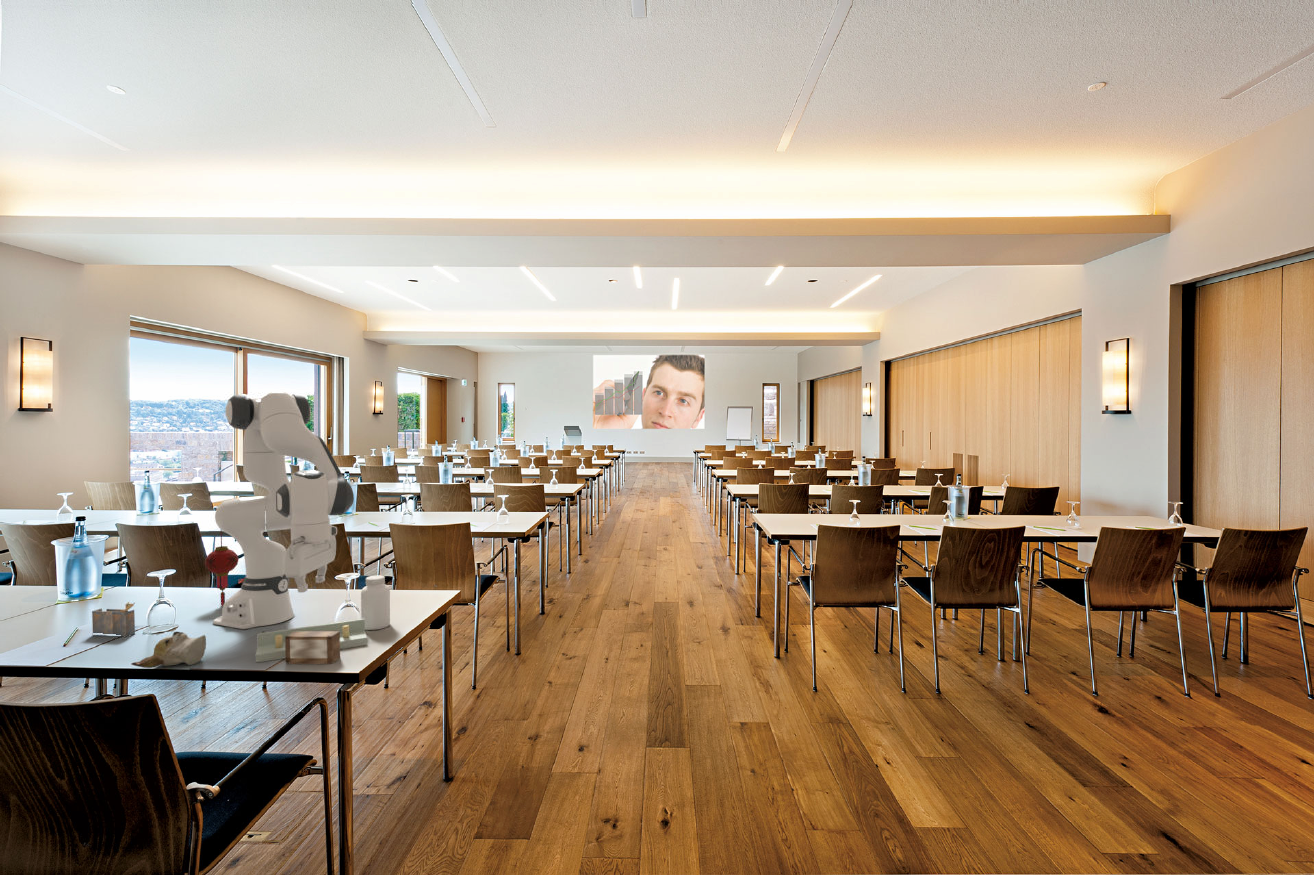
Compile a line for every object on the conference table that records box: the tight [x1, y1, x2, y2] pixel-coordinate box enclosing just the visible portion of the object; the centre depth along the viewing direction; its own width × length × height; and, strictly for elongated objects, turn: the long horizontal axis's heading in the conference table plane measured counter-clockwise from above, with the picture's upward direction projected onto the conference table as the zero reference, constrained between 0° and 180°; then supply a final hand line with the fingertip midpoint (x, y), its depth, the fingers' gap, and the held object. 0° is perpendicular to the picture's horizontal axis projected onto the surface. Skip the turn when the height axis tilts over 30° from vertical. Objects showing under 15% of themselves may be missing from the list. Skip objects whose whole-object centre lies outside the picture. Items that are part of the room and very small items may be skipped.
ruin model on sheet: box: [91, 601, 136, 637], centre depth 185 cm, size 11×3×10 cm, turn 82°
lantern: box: [204, 529, 239, 606], centre depth 214 cm, size 10×10×30 cm
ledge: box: [255, 618, 368, 663], centre depth 172 cm, size 26×8×5 cm, turn 119°
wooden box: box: [285, 631, 341, 665], centre depth 163 cm, size 12×4×7 cm, turn 89°
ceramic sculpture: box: [130, 631, 207, 669], centre depth 162 cm, size 11×9×15 cm
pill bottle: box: [360, 574, 391, 631], centre depth 190 cm, size 8×8×15 cm
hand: (311, 586), depth 163 cm, fingers open, 8 cm apart
